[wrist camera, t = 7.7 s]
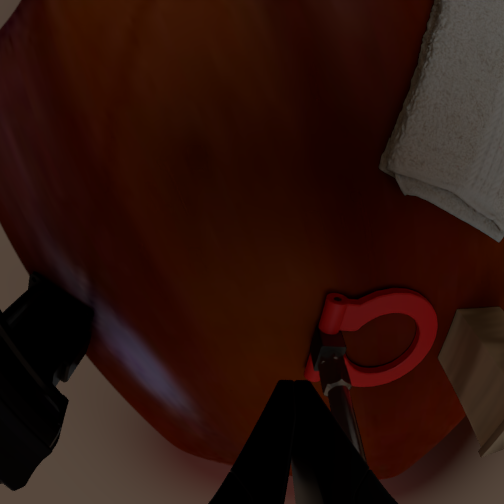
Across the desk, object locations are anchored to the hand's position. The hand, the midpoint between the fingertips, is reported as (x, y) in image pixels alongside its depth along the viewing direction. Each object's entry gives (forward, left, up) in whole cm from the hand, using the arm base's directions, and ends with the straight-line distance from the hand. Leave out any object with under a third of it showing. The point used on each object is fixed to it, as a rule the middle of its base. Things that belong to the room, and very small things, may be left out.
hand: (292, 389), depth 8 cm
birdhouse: (+17, +3, -12) cm, 21 cm away
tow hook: (+10, -3, -12) cm, 16 cm away
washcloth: (+6, +16, -13) cm, 21 cm away
